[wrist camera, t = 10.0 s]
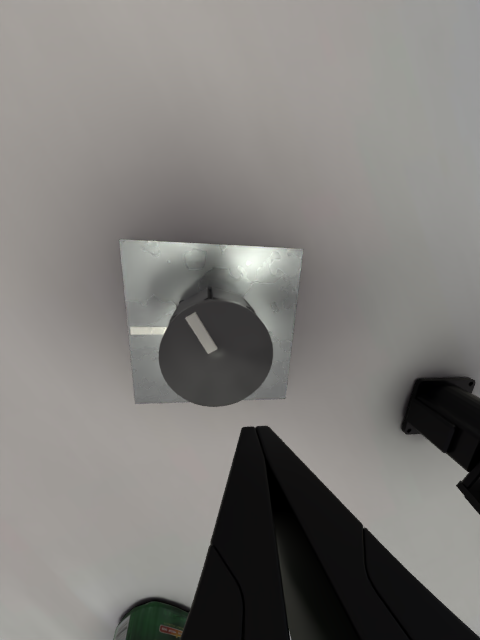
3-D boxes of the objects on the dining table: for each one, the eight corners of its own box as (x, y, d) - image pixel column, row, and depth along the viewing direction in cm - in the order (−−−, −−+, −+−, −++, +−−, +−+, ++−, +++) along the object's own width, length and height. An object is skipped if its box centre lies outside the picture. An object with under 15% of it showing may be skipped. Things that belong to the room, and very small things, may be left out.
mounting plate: (298, 249, 18) (328, 248, 13) (282, 392, 21) (301, 430, 17) (124, 240, 16) (89, 234, 12) (138, 396, 20) (116, 440, 15)
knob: (269, 343, 19) (291, 376, 14) (200, 381, 19) (197, 426, 14) (232, 272, 17) (242, 280, 12) (154, 314, 17) (132, 341, 12)
